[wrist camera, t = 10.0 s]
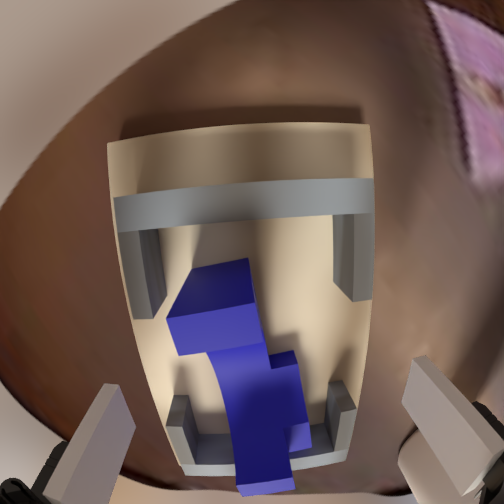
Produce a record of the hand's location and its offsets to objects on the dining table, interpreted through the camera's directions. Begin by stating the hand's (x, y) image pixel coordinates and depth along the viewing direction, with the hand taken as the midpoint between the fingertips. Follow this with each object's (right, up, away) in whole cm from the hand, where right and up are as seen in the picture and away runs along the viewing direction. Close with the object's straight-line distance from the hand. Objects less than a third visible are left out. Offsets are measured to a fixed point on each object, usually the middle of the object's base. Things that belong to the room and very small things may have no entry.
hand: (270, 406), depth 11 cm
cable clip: (-1, 0, +5) cm, 5 cm away
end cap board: (-1, +1, +7) cm, 7 cm away
